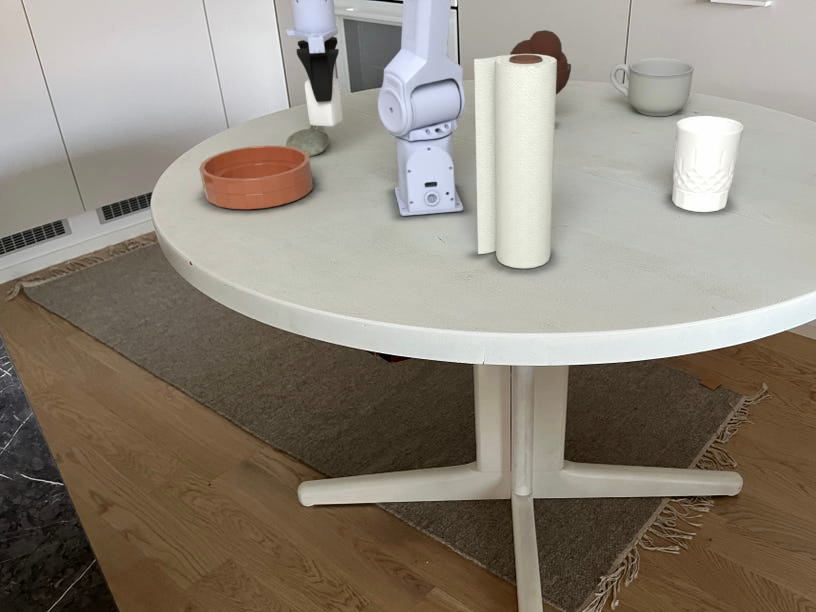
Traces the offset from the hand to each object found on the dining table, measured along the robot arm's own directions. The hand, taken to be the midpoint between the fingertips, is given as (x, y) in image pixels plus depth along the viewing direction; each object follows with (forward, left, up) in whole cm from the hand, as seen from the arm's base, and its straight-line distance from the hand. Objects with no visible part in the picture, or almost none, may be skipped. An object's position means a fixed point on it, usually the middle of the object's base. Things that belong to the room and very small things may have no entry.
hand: (323, 96), depth 114 cm
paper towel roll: (-40, -20, -10) cm, 46 cm away
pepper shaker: (0, 0, -4) cm, 4 cm away
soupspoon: (+13, +2, -10) cm, 16 cm away
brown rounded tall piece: (+10, -34, -10) cm, 37 cm away
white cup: (-29, -46, -10) cm, 55 cm away
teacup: (+14, -55, -10) cm, 58 cm away
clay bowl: (-12, +10, -9) cm, 18 cm away
